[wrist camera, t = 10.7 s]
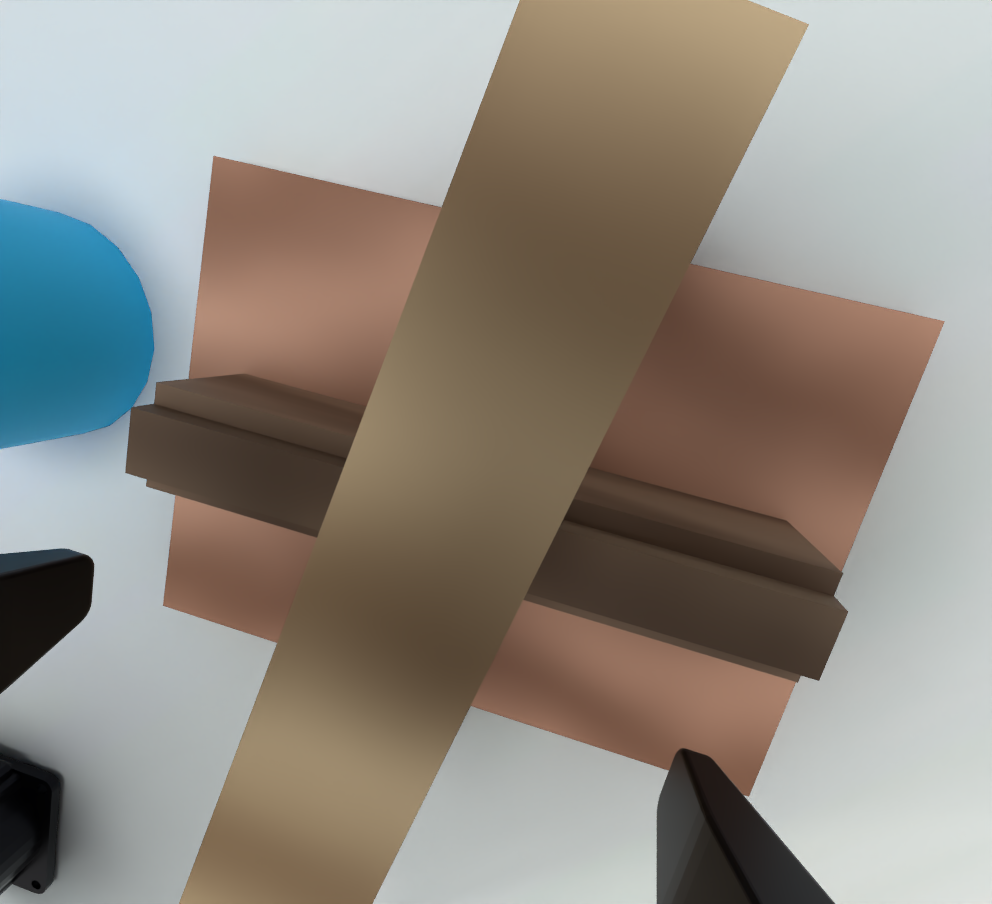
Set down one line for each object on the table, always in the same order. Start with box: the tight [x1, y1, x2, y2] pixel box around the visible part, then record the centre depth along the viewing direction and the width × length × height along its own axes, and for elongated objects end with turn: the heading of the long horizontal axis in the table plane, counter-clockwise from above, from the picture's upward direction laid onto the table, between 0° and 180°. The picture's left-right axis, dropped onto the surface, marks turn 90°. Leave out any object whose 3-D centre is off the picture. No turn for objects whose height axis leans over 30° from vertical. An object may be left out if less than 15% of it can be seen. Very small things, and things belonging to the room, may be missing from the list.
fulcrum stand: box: [125, 156, 945, 796], centre depth 17 cm, size 16×22×6 cm
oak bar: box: [179, 0, 809, 904], centre depth 12 cm, size 20×4×4 cm, turn 156°
